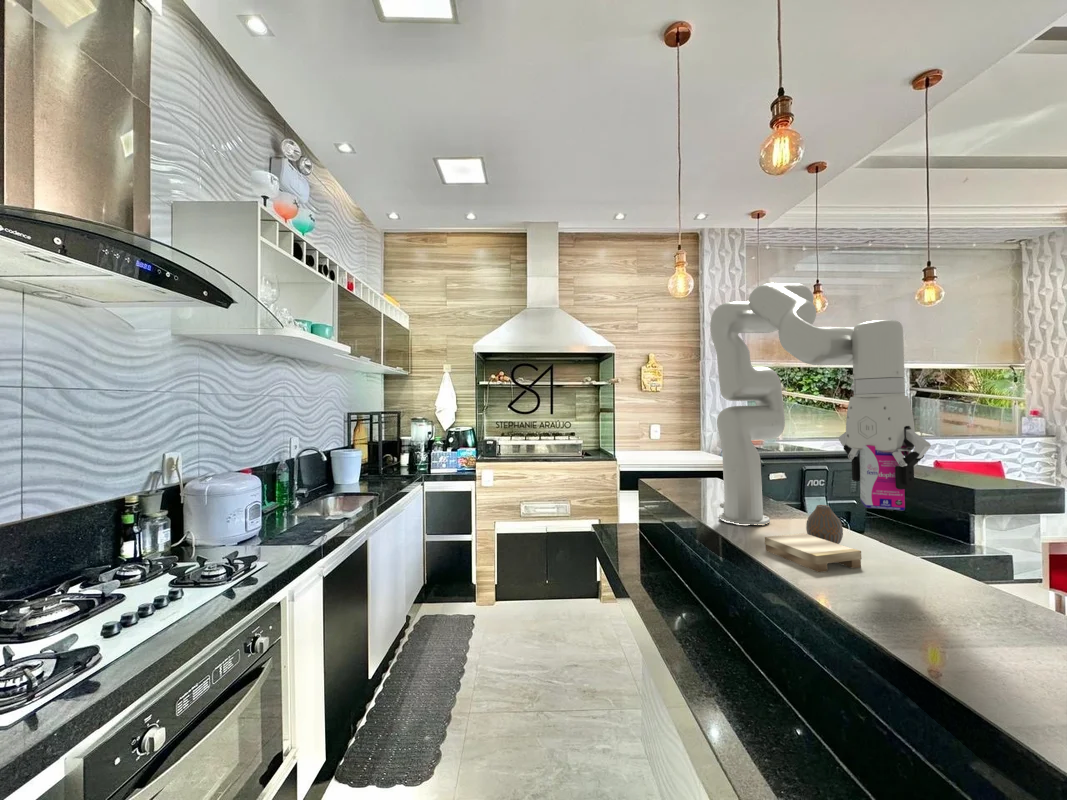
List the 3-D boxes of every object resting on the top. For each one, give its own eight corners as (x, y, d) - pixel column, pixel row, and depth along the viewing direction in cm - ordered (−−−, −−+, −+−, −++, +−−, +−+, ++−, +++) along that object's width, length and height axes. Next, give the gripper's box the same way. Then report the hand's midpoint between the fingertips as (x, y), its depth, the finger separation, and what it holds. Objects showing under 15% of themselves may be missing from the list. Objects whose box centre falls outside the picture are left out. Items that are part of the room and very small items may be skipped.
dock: (765, 550, 99) (764, 536, 99) (804, 546, 101) (804, 532, 101) (817, 572, 85) (816, 555, 85) (862, 567, 87) (861, 550, 87)
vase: (800, 541, 105) (799, 503, 105) (831, 540, 105) (829, 502, 105) (818, 550, 98) (816, 509, 99) (851, 549, 98) (849, 508, 98)
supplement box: (865, 508, 82) (863, 445, 82) (860, 501, 87) (858, 442, 87) (906, 511, 79) (904, 445, 79) (898, 504, 85) (896, 442, 85)
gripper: (822, 390, 91) (824, 478, 91) (910, 387, 74) (913, 495, 74) (853, 389, 93) (856, 476, 93) (946, 386, 76) (950, 492, 76)
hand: (881, 483), depth 83 cm, fingers closed on supplement box, 8 cm apart
